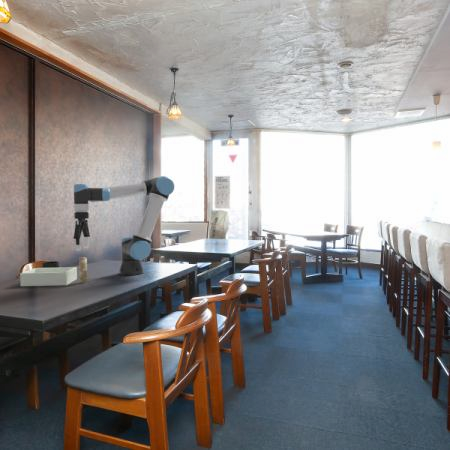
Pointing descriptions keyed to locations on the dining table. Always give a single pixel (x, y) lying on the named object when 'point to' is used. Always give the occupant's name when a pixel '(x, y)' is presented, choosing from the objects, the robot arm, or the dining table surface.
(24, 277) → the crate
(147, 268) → the dining table surface
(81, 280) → the dowel
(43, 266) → the mug
